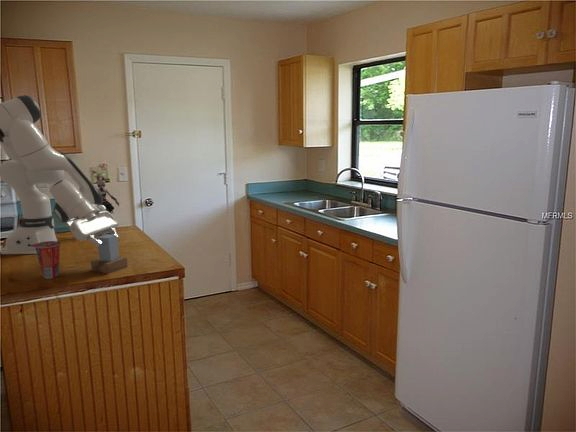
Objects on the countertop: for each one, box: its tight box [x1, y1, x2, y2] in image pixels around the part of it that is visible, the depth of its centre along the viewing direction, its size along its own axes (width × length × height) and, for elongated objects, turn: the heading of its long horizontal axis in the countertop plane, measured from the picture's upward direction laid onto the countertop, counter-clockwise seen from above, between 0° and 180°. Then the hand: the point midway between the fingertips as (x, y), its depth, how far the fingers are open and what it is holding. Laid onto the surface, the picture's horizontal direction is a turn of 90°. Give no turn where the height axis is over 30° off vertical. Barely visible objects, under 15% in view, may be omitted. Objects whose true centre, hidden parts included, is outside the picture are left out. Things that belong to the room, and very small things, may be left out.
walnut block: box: [90, 256, 128, 275], centre depth 180 cm, size 9×9×4 cm
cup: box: [30, 240, 61, 279], centre depth 171 cm, size 9×8×12 cm
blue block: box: [96, 233, 120, 262], centre depth 178 cm, size 5×5×9 cm
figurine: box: [96, 173, 120, 237], centre depth 230 cm, size 15×6×30 cm, turn 117°
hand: (108, 242), depth 178 cm, fingers open, 8 cm apart
